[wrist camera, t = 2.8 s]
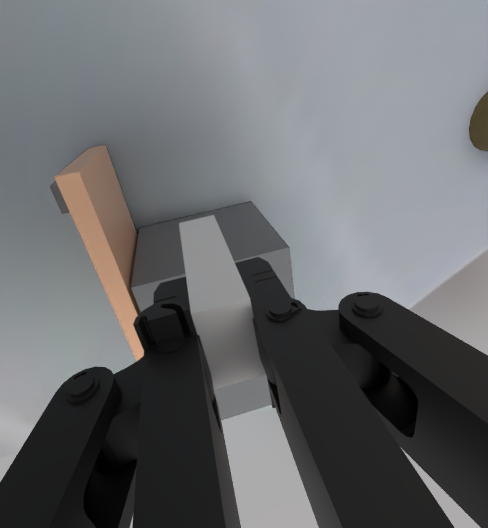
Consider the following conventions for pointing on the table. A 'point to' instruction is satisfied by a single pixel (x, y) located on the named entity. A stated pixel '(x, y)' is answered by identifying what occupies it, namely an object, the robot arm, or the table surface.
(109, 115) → the table surface
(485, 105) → the olive hourglass shape
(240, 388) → the block
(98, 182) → the side door
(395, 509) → the robot arm
